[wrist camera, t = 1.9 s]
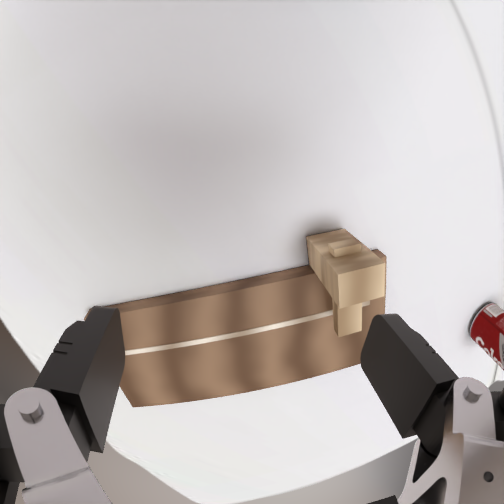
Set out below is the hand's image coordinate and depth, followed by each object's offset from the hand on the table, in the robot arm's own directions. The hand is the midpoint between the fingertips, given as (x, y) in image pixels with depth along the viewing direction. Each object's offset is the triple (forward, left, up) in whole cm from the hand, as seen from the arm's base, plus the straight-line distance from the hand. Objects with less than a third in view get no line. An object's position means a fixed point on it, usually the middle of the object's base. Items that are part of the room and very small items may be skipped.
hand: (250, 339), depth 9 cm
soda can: (-36, +25, -21) cm, 49 cm away
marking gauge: (-9, +9, -20) cm, 24 cm away
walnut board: (+1, +15, -21) cm, 26 cm away
